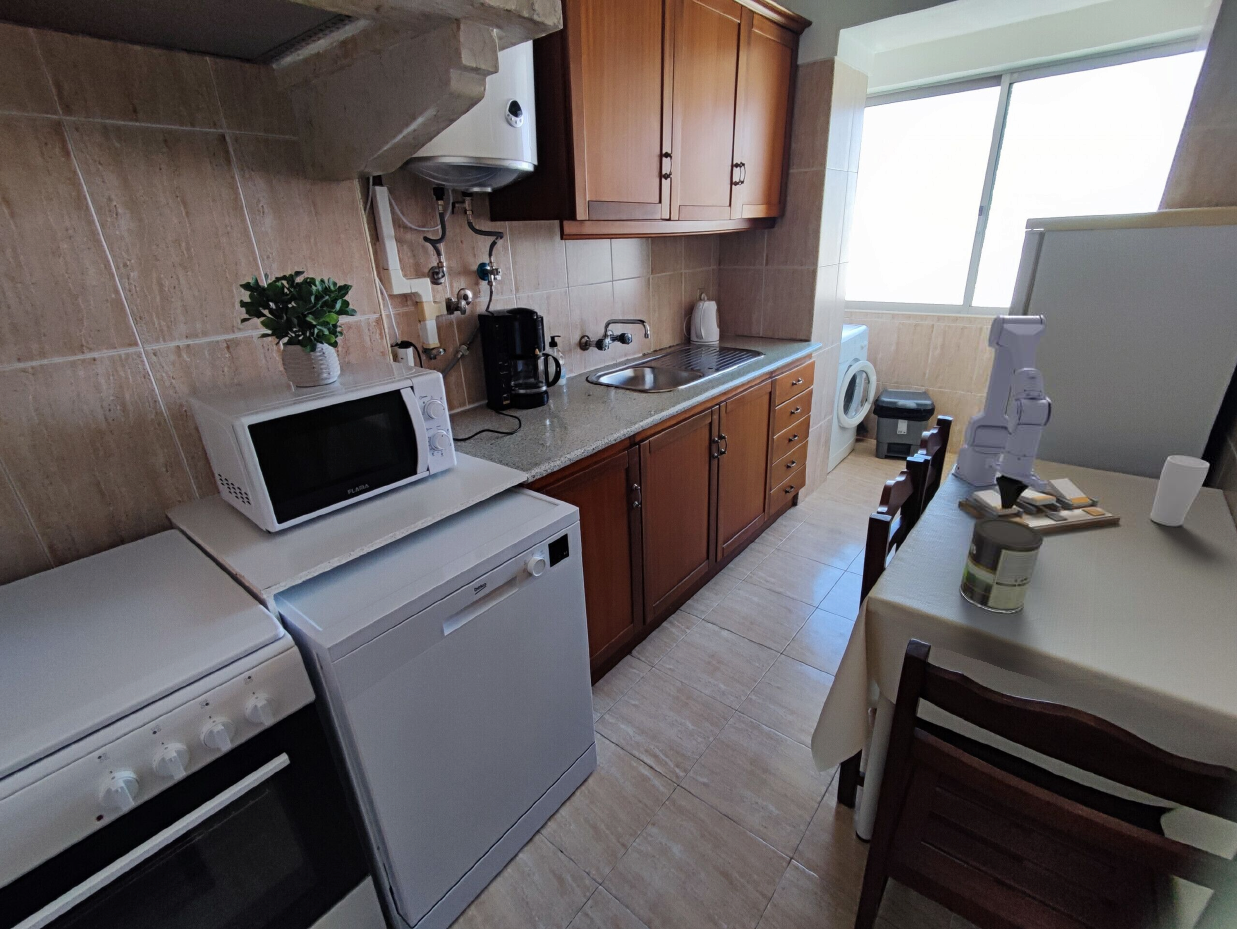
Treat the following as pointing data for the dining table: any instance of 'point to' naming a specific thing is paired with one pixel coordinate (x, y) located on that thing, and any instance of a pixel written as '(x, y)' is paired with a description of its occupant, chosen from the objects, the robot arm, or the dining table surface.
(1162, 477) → the drinking glass
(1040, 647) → the dining table surface
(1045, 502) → the rocker middle
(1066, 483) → the rocker
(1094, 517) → the switch board
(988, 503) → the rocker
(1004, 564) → the coffee can
